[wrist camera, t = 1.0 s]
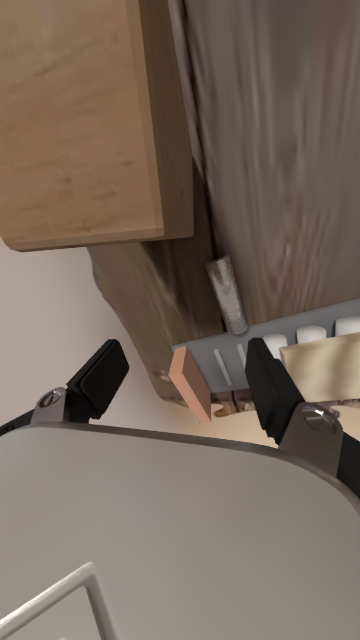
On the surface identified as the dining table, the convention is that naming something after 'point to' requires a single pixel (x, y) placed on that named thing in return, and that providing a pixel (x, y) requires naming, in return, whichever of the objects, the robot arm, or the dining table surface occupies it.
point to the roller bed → (231, 350)
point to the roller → (227, 294)
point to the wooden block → (91, 125)
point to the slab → (325, 367)
